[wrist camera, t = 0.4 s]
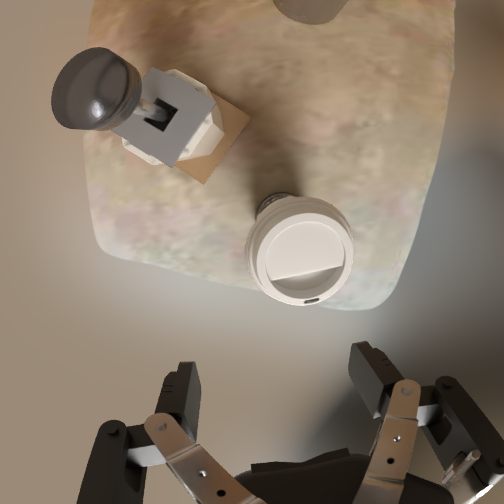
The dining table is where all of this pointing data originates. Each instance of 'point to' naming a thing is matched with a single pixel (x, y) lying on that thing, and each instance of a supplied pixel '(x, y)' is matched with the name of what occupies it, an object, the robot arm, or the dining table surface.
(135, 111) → the plunger
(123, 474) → the robot arm
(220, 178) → the dining table surface
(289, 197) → the coffee cup
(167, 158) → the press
